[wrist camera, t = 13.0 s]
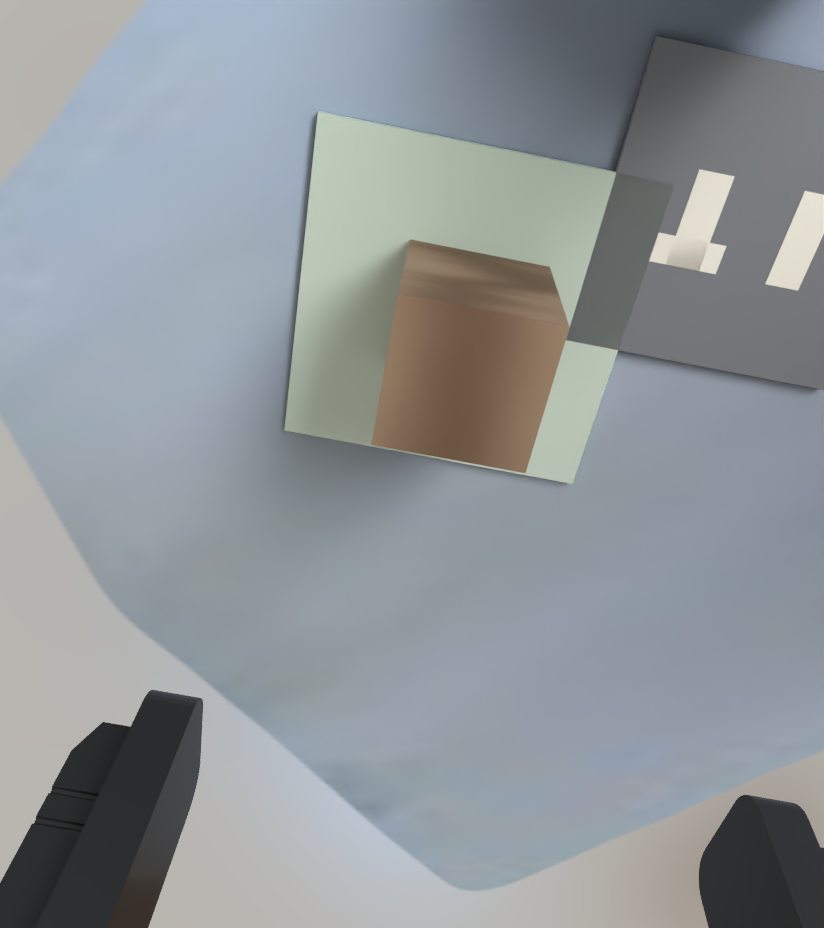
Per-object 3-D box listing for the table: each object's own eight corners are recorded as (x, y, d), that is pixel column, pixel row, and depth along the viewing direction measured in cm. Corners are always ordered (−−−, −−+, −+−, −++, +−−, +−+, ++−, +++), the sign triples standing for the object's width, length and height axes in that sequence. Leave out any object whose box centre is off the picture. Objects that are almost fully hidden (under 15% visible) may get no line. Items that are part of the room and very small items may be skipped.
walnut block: (549, 266, 27) (569, 327, 22) (514, 392, 30) (525, 473, 24) (410, 239, 27) (397, 293, 22) (387, 368, 29) (371, 444, 24)
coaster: (672, 182, 26) (674, 184, 25) (571, 480, 32) (572, 483, 32) (319, 111, 25) (317, 111, 25) (285, 427, 31) (284, 430, 31)
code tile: (966, 101, 24) (971, 102, 24) (822, 386, 29) (825, 390, 29) (655, 36, 24) (657, 36, 23) (564, 337, 29) (565, 340, 28)
